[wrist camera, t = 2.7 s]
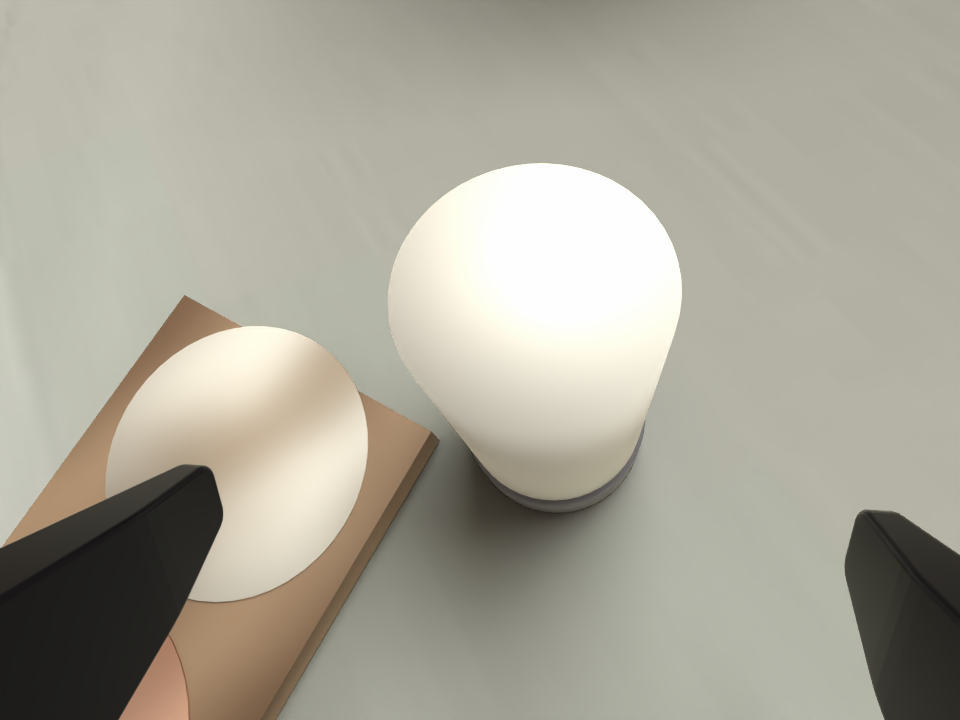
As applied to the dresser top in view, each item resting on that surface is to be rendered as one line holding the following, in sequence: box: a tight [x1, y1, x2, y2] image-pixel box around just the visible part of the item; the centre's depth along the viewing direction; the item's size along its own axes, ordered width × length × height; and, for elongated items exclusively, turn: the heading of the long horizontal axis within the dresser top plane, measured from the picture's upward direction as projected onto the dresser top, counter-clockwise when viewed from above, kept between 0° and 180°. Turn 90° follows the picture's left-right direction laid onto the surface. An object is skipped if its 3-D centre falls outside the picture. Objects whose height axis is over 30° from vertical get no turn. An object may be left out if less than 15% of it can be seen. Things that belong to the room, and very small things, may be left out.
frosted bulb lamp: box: [388, 163, 682, 513], centre depth 15 cm, size 5×5×10 cm
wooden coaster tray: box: [2, 295, 440, 720], centre depth 20 cm, size 10×17×1 cm, turn 150°
